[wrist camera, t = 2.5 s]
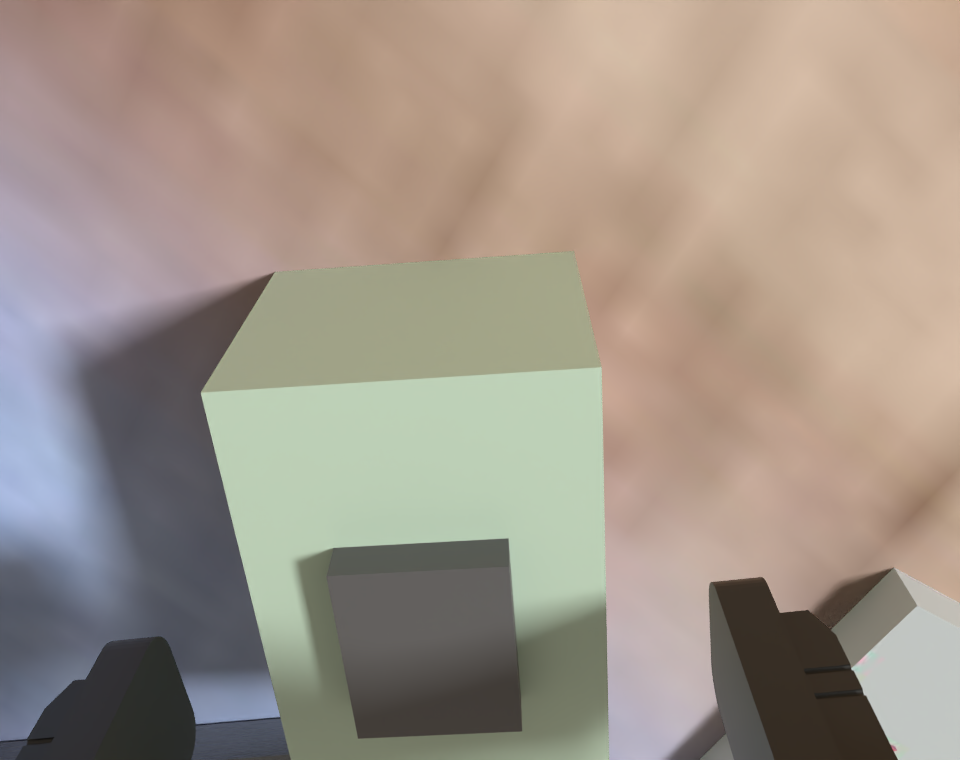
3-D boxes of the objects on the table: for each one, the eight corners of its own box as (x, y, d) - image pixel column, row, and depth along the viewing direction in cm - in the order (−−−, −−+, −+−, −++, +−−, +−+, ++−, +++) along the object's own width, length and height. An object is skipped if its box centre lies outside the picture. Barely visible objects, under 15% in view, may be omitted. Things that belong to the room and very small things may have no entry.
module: (277, 268, 15) (186, 416, 11) (572, 248, 15) (606, 390, 11) (345, 629, 19) (298, 854, 14) (585, 617, 19) (614, 841, 14)
